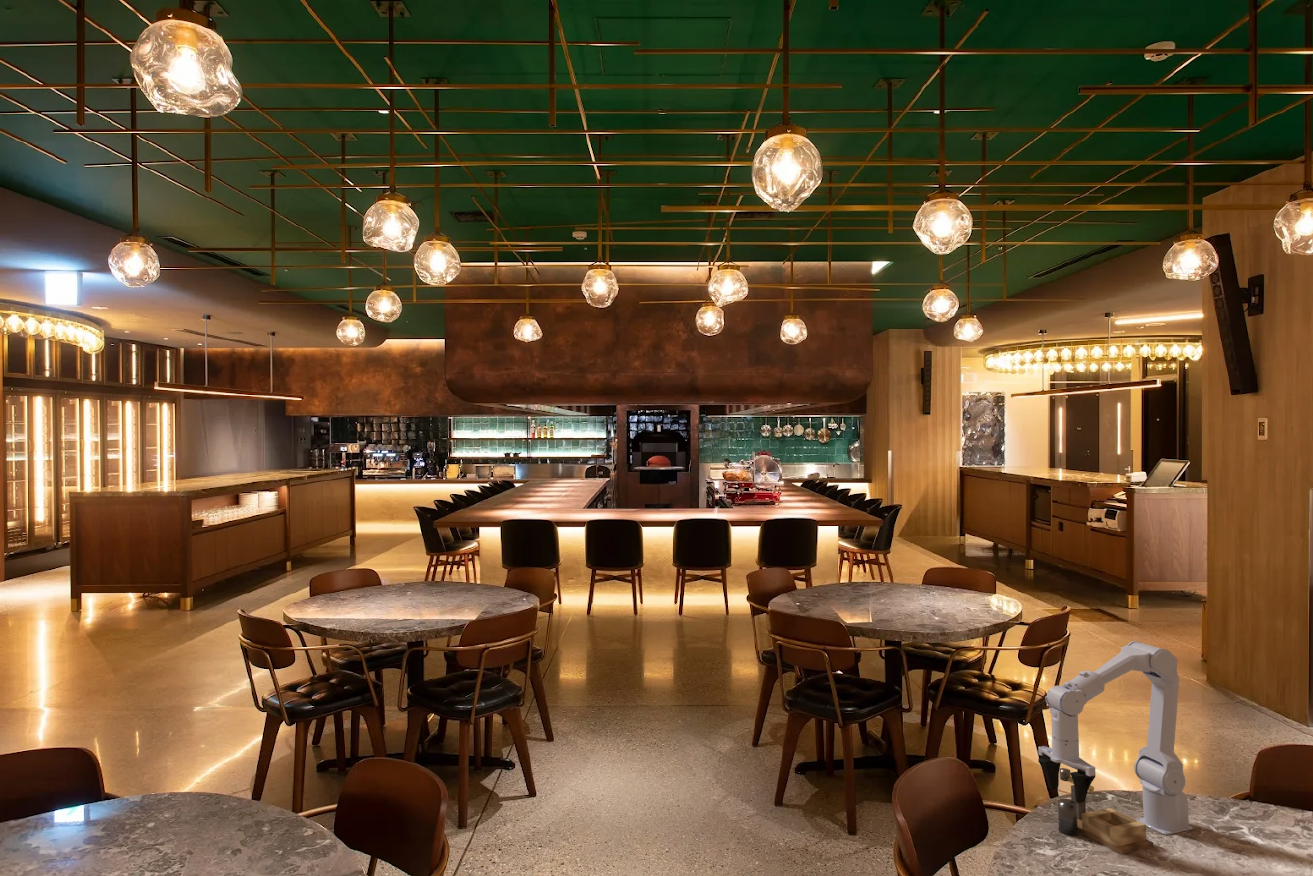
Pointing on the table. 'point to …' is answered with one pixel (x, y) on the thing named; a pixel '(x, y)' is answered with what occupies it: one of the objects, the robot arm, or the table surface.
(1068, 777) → the lock bolt
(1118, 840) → the dock
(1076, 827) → the black rounded block
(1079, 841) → the table surface
